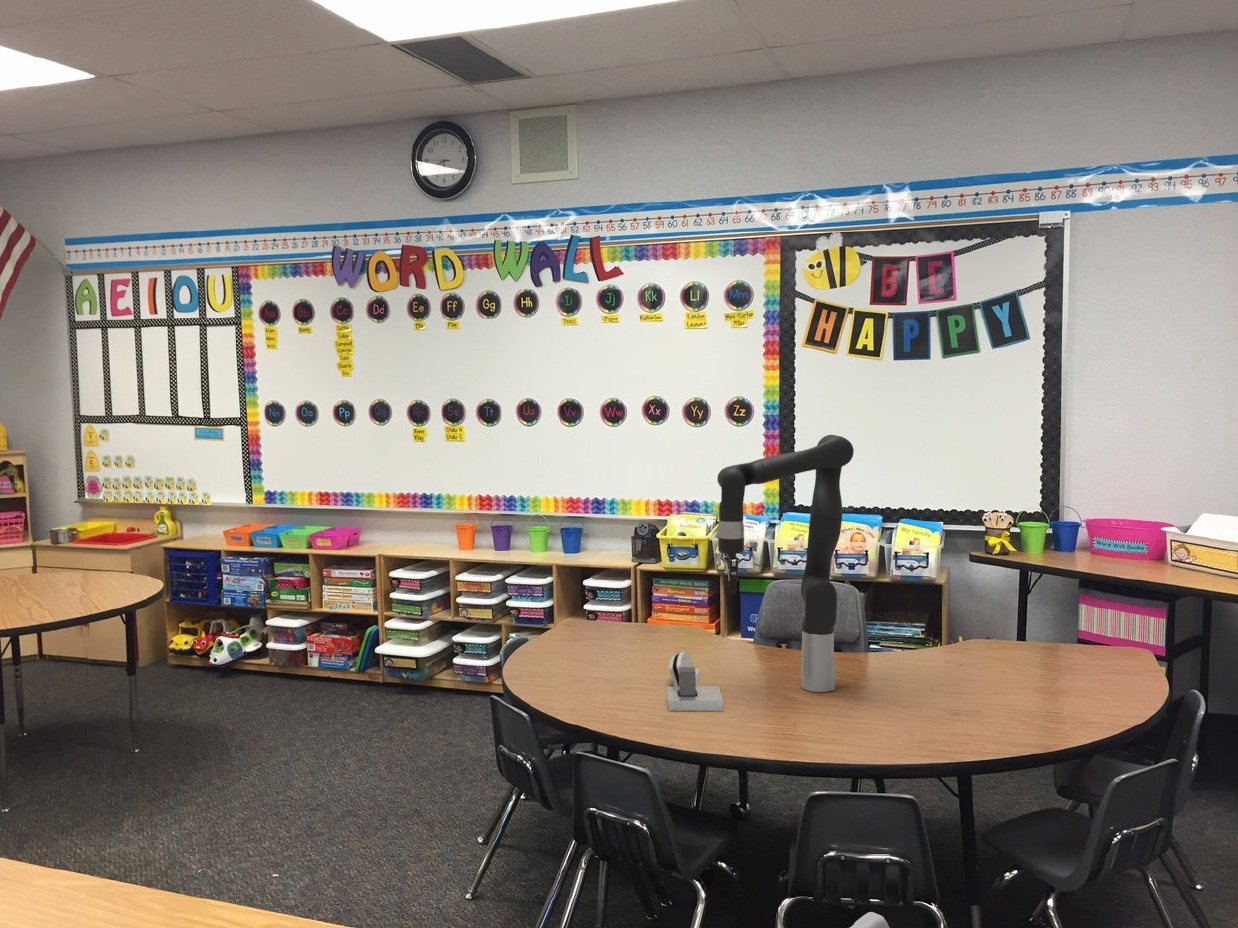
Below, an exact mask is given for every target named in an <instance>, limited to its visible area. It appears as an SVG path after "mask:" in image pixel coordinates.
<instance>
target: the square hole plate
mask: <svg viewBox="0 0 1238 928" xmlns="http://www.w3.org/2000/svg"><path fill="white" fill-rule="evenodd" d="M666 699H667V700H666V701H667V705H668V706H667V708H669V709H668V712H724V699H723V695H722V692H721V689H720V686H696V697H679V687H674V686H666Z"/></svg>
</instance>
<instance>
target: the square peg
mask: <svg viewBox="0 0 1238 928" xmlns="http://www.w3.org/2000/svg"><path fill="white" fill-rule="evenodd" d="M695 668H696V667H695V666H694V667H679V697H696V687H697V685H696V671H695Z"/></svg>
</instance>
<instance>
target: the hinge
mask: <svg viewBox="0 0 1238 928" xmlns="http://www.w3.org/2000/svg"><path fill="white" fill-rule="evenodd" d="M679 667H695V664H694V662H693V659H692V657H691V653H690V652H688V651H682V652H679V653H675V654H674V655H672V657H671V658H670V661H669V665H668V669H669V675H670V677H671V680H672V684H673V687H679ZM695 671H696V686H697V684H698V682H699V681H700V679H701V677H702V674H701V671H700V669H697V668H696V667H695ZM699 678H700V679H699ZM698 680H699V681H698Z"/></svg>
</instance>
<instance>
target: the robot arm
mask: <svg viewBox="0 0 1238 928" xmlns="http://www.w3.org/2000/svg"><path fill="white" fill-rule="evenodd" d="M853 456H854V447H853V444H852V443H851V441H849V439H847V438H845V436H844V437H843V436H841V435H835V434H828V435H825V436H823V437H821V439H820V440H819V441H818V442H817V445H816V446H813V447H810V448H807V449H802V450H799V451H793V452H788V453H787V452H786V453H780V454H775V455H771V456H768V457H764V458H760V459H756V460H753V461H751V462H743V463H739V464H734V465H730V466H726V467H724V468H722V469H721V470H720V471H719V473H718V474H717V483H718V485H719V486H720V488H721V490H720V491H721V493H720V494H721V500H720V503H719V504H718V505H719V508H718V526H717V527H718V528H717V531H718V533H717V534H718V535H717V543H718V544H717V545H718V546H717V548H718V549H717V550H718V552H719V553H722V554H723V555H724V557H723V563H724V564H723V570H724V574H725V587H726V588H728V593H729V594H730V595H737V593H738V581H739V561H740V560H739V558H738V557H737V554H741V553H743V552H744V551H745V524H744V498H745V493H746V487H747V486H750V485H762V484H766V483H770V482H773V481H777V480H780V479H784V478H788V477H790V476H794V475H797V474H801V473H806V472H810V471H815V481H814V488H813V494H812V500H811V508H810V515H809V524H808V534H807V535H808V537H807V553H806V554H807V555H806V562H805V567H804V572H803V575H802V580H801V585H800V595H801V598H802V599H803V601H804V602H805V605H804V606H805V607H804V608H805V609H804V620H803V621H802V625H801V628H802V629H801V631H802V632H801V634H802V635H801V679H800V681H801V688H802V689H803V690H805V691H807V692H808V691H809V692H813V693H826V692H832V691H835V690H836V658H835V656H834V654H835V653H834V652H835V651H834V650H835V649H834V648H835V647H834V645H835V644H834V643H835V641H834V640H835V625H836V622H837V613H838V612H837V611H838V608H837V606H838V595H837V590H836V587H835V586H834V585H833V583H832V582H831V564H832V559H833V556H834V553H835V550H836V547H837V545H838V542H839V540H840V536H841V531H842V522H843V502H842V501H843V500H842V496H841V495H842V494H841V487H840V481H841V474H842V468H843V467H845V466H846V465H848V464H849V463H850V462H851V461H852V458H853Z"/></svg>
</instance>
